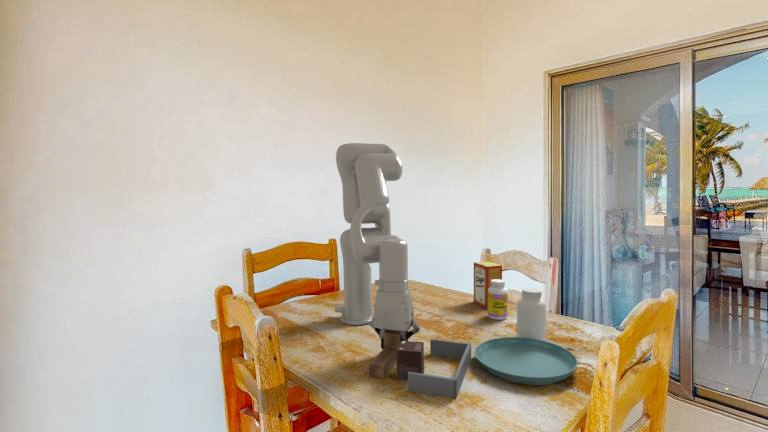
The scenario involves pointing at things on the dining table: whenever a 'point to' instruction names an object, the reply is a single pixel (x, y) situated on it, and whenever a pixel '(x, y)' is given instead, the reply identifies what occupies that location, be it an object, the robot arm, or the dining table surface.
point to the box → (409, 359)
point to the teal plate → (526, 360)
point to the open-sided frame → (438, 383)
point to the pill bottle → (531, 315)
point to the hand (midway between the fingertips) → (394, 352)
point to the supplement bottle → (497, 300)
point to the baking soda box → (484, 280)
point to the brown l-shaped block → (386, 355)
